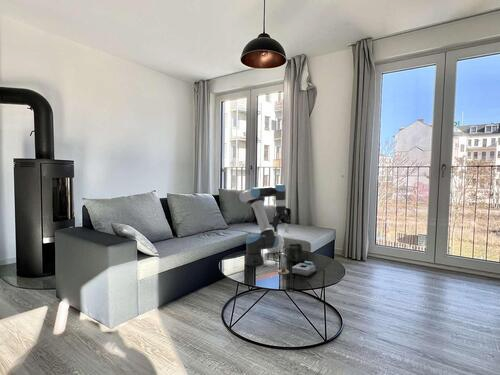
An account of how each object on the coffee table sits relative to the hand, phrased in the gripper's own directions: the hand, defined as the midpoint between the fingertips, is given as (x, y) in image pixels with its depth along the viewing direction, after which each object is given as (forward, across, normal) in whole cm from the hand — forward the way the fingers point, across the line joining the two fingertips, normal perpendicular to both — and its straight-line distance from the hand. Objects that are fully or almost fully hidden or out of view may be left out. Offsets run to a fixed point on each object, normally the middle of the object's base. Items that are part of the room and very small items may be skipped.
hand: (281, 234), depth 212 cm
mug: (+27, +23, +4) cm, 36 cm away
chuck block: (+26, +4, -16) cm, 31 cm away
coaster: (+26, -6, -4) cm, 27 cm away
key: (+25, -6, -4) cm, 26 cm away
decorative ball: (+28, +33, +30) cm, 52 cm away
